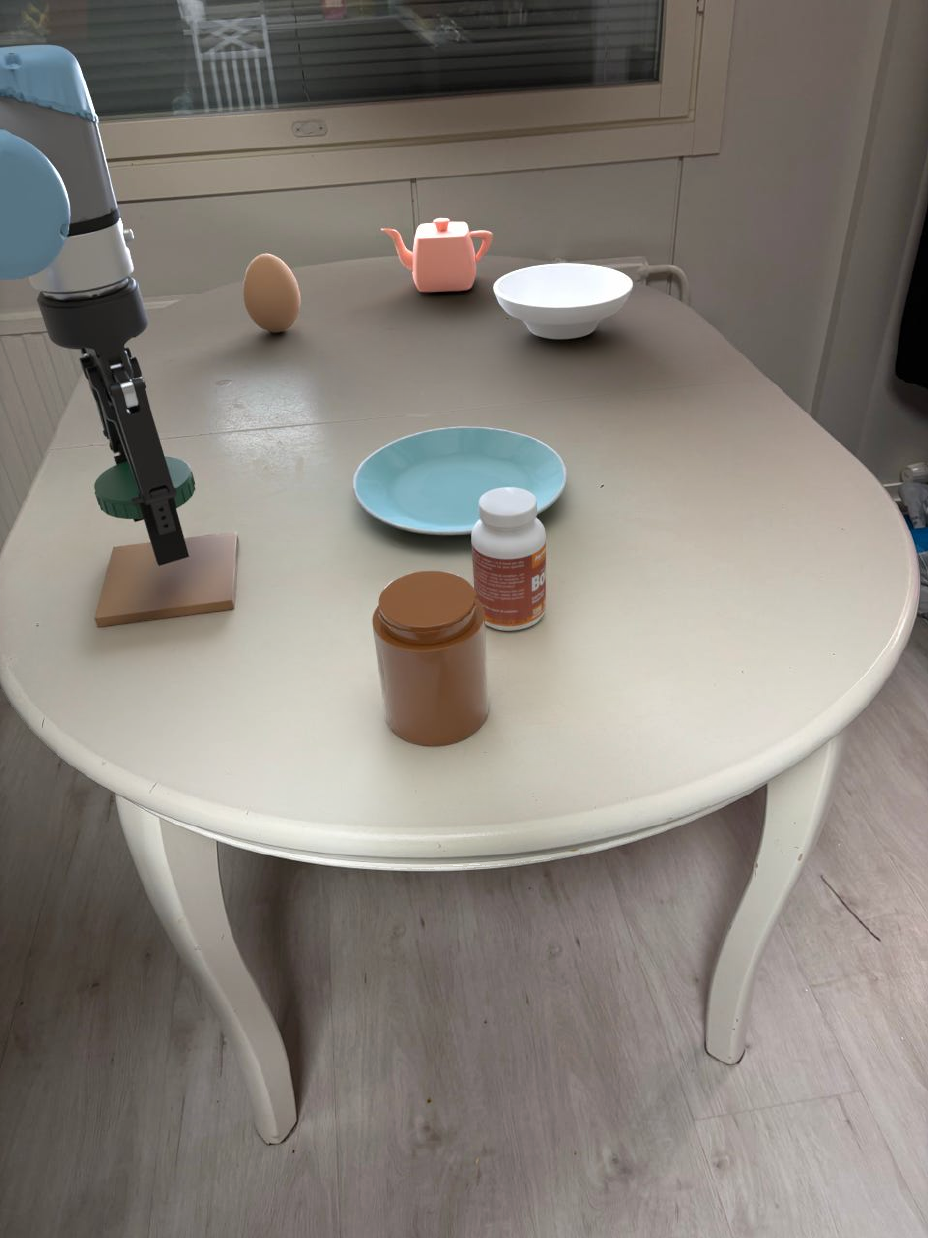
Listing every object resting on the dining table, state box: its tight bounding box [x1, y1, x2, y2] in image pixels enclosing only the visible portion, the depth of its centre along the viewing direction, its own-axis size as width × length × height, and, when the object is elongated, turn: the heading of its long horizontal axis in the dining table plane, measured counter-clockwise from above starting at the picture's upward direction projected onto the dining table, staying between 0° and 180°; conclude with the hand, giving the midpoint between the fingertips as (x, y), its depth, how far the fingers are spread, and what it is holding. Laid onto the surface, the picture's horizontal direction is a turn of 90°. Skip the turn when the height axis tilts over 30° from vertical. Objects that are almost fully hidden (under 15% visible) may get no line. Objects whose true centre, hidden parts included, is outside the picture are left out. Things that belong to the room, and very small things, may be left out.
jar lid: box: [93, 455, 196, 520], centre depth 81 cm, size 8×8×2 cm
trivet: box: [94, 531, 239, 628], centre depth 87 cm, size 12×12×1 cm
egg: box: [242, 253, 301, 333], centre depth 137 cm, size 8×8×11 cm
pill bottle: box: [470, 487, 547, 632], centre depth 77 cm, size 6×6×11 cm
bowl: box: [493, 263, 634, 340], centre depth 132 cm, size 20×20×7 cm
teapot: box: [380, 217, 494, 294], centre depth 151 cm, size 12×18×10 cm, turn 90°
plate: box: [352, 426, 568, 536], centre depth 96 cm, size 22×22×3 cm
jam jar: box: [371, 570, 490, 747], centre depth 68 cm, size 8×8×11 cm
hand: (160, 536), depth 84 cm, fingers closed on jar lid, 8 cm apart
